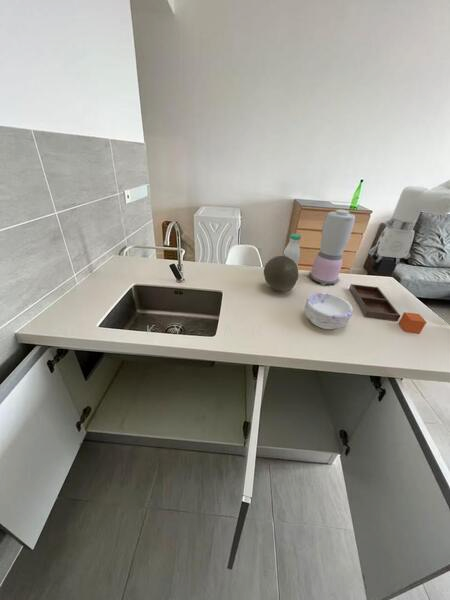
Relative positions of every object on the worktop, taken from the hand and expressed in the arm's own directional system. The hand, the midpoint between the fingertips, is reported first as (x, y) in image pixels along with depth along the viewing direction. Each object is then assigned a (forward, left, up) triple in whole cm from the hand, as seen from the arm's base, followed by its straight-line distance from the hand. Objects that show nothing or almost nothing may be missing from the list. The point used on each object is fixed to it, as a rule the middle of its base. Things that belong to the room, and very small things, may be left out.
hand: (381, 271), depth 95 cm
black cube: (0, 0, 0) cm, 0 cm away
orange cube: (-8, +18, -14) cm, 24 cm away
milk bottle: (+33, -16, -14) cm, 39 cm away
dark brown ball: (+38, +1, -14) cm, 41 cm away
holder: (0, +3, -14) cm, 14 cm away
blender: (+17, -16, -14) cm, 27 cm away
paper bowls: (+22, +21, -14) cm, 33 cm away
